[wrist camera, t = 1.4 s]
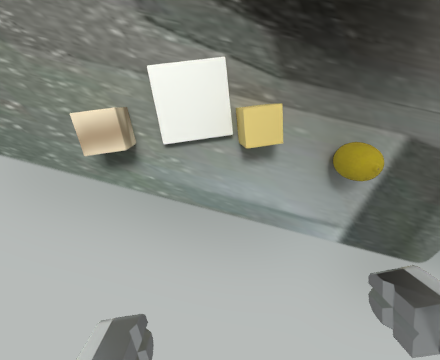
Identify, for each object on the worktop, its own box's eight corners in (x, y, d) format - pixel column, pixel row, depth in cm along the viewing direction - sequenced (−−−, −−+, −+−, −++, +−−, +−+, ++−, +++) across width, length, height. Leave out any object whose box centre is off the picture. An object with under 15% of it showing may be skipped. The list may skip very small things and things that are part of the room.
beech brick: (89, 112, 29) (69, 113, 24) (127, 107, 29) (114, 107, 25) (101, 148, 31) (84, 156, 26) (136, 143, 31) (126, 150, 26)
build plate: (148, 67, 28) (146, 65, 27) (223, 58, 29) (225, 56, 27) (164, 143, 31) (163, 144, 30) (231, 133, 32) (232, 134, 31)
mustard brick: (235, 108, 31) (243, 108, 26) (268, 103, 31) (282, 103, 27) (238, 142, 33) (246, 148, 28) (270, 137, 33) (283, 143, 28)
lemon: (327, 176, 36) (362, 195, 29) (319, 147, 34) (354, 159, 27) (357, 163, 36) (400, 178, 29) (351, 132, 34) (395, 140, 27)
